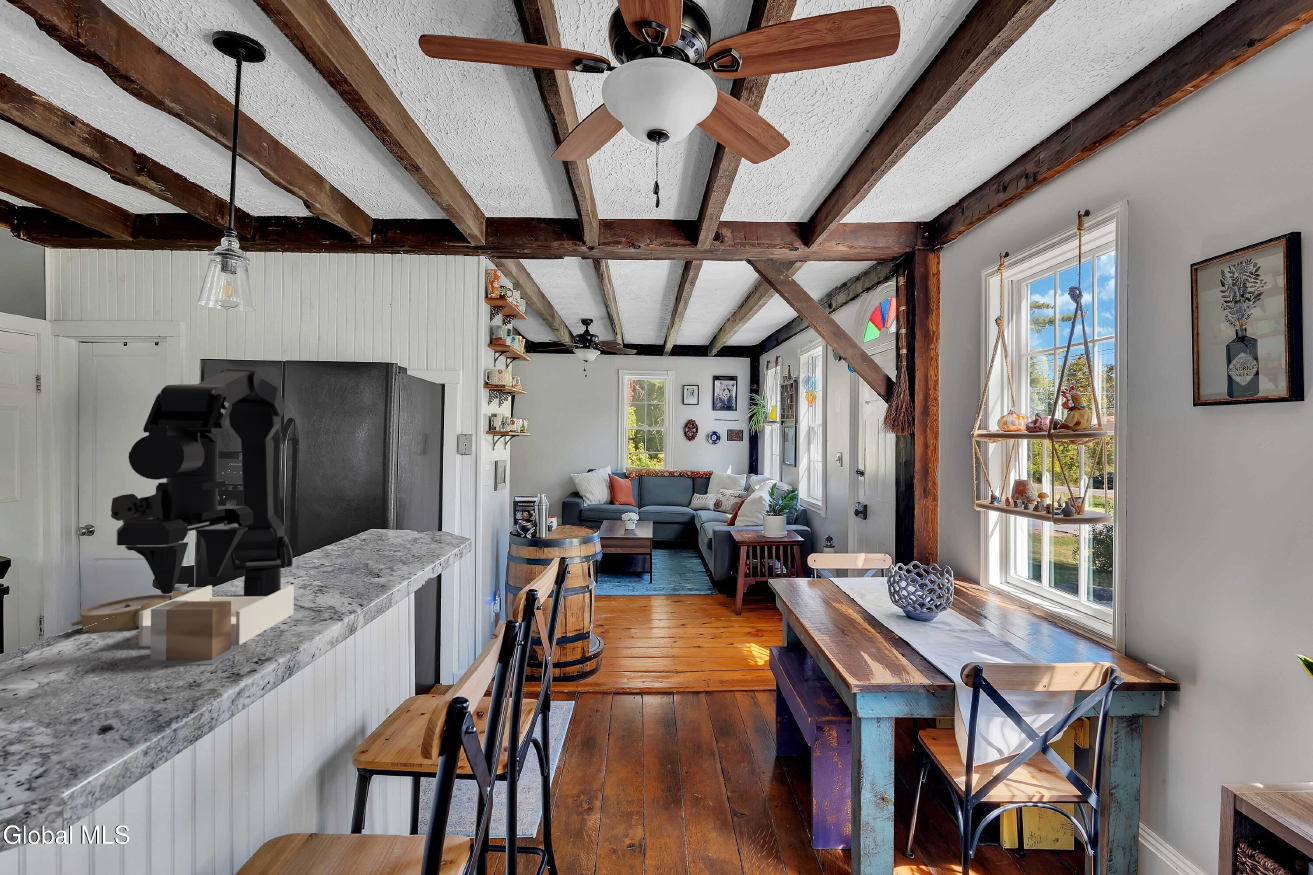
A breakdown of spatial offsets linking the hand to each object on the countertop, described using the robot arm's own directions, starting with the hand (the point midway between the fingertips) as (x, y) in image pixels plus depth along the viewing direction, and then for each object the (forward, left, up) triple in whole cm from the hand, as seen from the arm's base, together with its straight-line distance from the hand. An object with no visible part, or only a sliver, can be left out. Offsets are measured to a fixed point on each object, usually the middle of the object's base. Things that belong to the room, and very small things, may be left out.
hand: (191, 584), depth 82 cm
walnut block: (0, 0, -10) cm, 10 cm away
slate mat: (0, 0, -11) cm, 11 cm away
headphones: (-17, -19, -11) cm, 28 cm away
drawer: (-12, -3, -11) cm, 16 cm away
